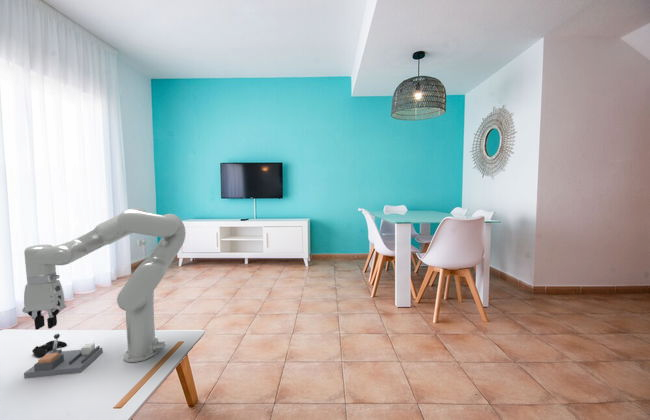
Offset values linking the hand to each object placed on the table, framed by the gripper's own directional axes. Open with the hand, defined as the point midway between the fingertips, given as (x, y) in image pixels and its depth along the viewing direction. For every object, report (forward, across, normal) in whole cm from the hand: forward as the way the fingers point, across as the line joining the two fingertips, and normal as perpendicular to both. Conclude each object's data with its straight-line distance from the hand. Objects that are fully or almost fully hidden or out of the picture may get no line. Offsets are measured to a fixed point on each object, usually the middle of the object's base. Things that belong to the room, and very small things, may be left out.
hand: (46, 326), depth 102 cm
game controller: (+18, +12, -15) cm, 26 cm away
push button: (+13, 0, 0) cm, 13 cm away
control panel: (+17, -3, -4) cm, 18 cm away
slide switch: (+15, -9, -6) cm, 19 cm away
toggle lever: (+14, +4, -8) cm, 16 cm away
